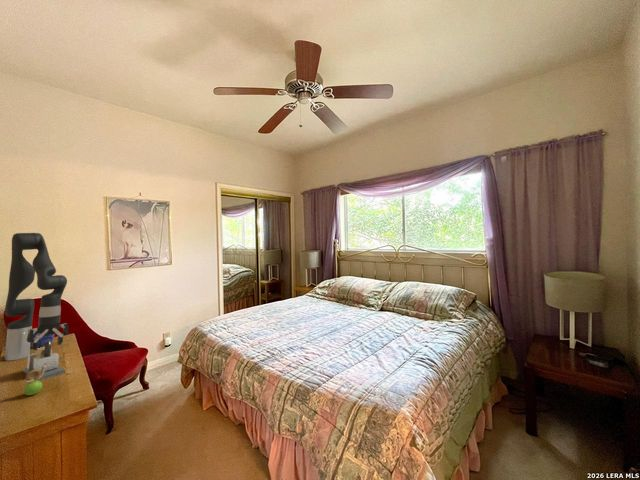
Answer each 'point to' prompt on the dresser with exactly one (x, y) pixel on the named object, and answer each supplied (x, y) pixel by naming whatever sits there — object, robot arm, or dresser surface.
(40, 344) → the planter
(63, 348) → the dresser surface
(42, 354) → the brass block
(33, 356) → the vise
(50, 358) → the free jaw
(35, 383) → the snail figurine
